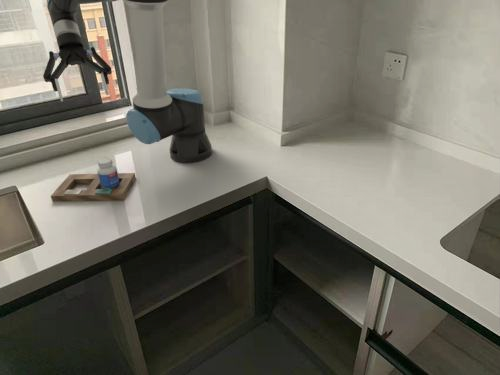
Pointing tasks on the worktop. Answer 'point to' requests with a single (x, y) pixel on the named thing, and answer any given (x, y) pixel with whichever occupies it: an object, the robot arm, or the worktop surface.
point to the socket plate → (92, 188)
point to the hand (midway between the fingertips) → (84, 96)
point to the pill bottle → (107, 174)
